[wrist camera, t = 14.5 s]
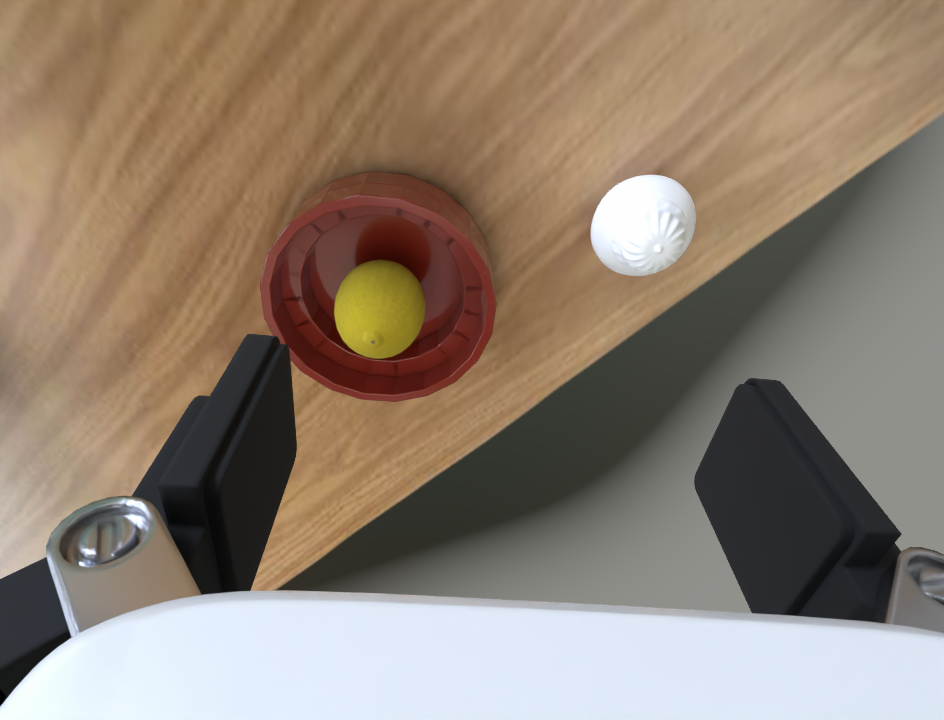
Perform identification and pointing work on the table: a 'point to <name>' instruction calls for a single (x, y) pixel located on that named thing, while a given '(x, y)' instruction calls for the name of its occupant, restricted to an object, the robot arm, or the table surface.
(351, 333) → the lemon
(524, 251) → the table surface
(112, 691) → the robot arm
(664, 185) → the muffin
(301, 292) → the bowl
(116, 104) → the table surface
